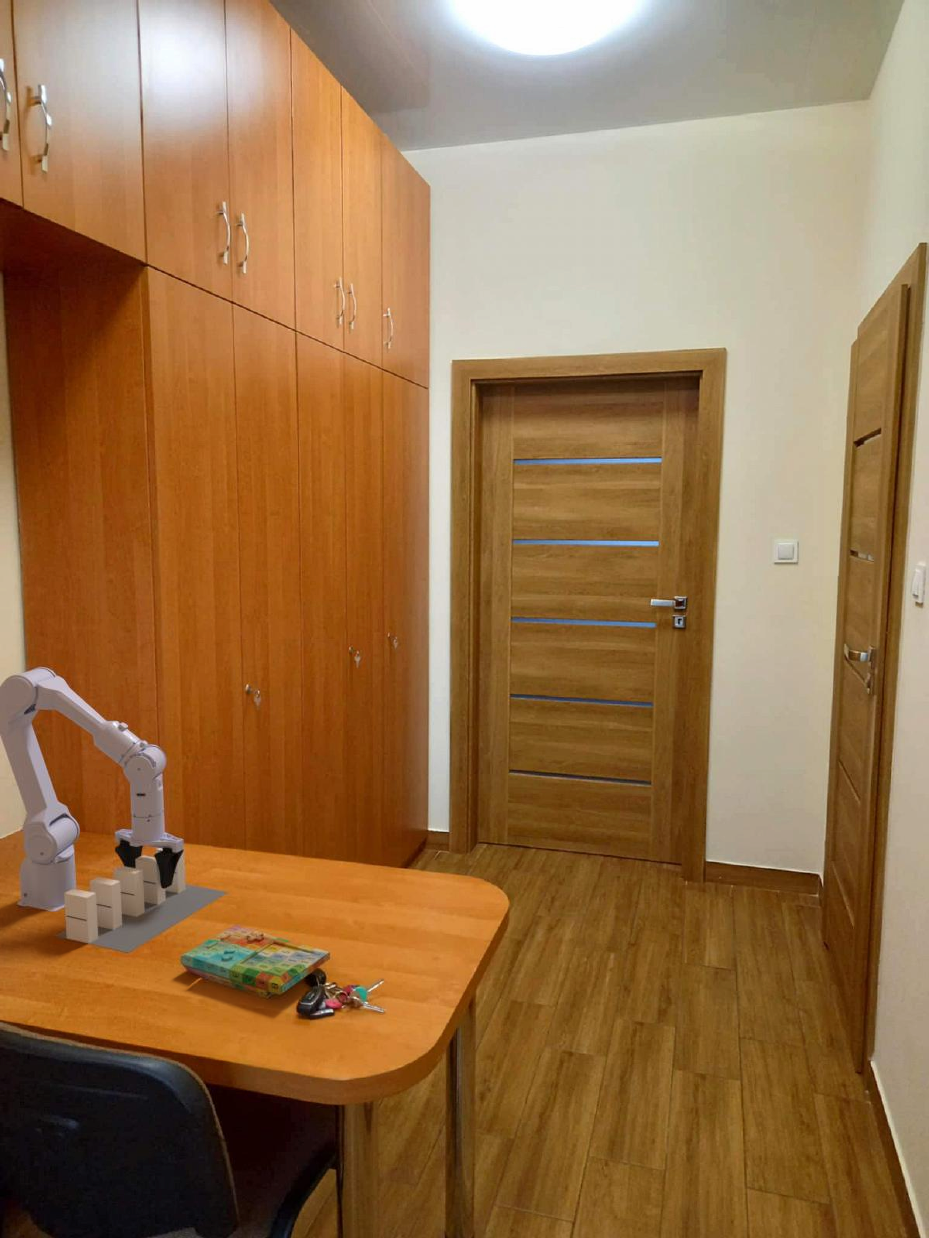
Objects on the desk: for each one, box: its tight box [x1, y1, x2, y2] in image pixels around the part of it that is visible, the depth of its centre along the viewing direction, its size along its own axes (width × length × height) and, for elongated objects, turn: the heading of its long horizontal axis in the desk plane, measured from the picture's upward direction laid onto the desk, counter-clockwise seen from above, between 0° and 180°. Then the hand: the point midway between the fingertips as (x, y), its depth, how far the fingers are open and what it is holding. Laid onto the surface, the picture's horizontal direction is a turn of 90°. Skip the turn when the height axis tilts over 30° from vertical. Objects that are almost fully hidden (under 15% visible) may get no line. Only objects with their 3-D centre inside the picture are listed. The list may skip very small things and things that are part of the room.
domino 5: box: [155, 848, 186, 893], centre depth 170 cm, size 2×5×8 cm, turn 67°
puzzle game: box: [180, 924, 331, 999], centre depth 139 cm, size 12×5×20 cm
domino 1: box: [64, 888, 98, 944], centre depth 150 cm, size 2×5×8 cm, turn 67°
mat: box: [55, 883, 229, 954], centre depth 160 cm, size 16×26×1 cm, turn 157°
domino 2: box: [89, 876, 122, 930], centre depth 155 cm, size 2×5×8 cm, turn 67°
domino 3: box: [112, 865, 145, 917], centre depth 160 cm, size 2×5×8 cm, turn 67°
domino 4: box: [135, 855, 166, 905], centre depth 165 cm, size 2×5×8 cm, turn 67°
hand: (150, 883), depth 165 cm, fingers open, 7 cm apart
